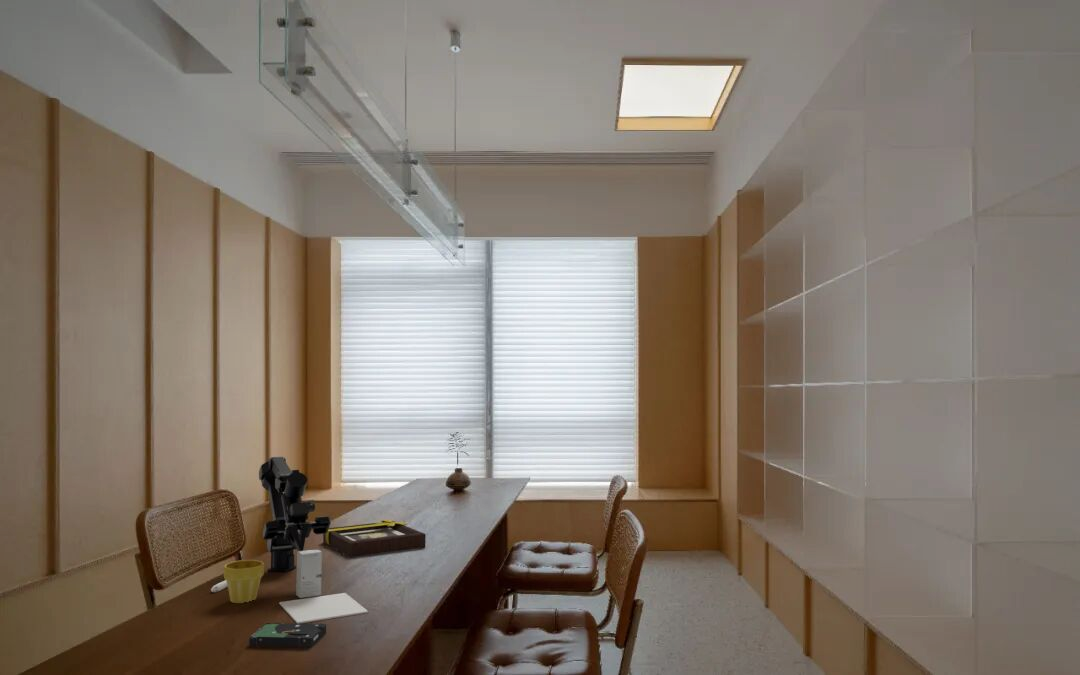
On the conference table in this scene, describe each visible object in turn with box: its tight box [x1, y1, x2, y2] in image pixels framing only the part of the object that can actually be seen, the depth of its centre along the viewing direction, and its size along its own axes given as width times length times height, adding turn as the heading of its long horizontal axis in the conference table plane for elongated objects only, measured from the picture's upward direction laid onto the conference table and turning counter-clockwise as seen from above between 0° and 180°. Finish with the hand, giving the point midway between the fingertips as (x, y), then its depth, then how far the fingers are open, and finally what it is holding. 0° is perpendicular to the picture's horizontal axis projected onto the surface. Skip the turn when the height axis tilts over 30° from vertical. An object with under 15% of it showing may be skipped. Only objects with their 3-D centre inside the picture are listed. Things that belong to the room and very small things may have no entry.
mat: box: [279, 592, 369, 624], centre depth 205 cm, size 20×18×1 cm
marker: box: [210, 579, 228, 593], centre depth 228 cm, size 18×2×2 cm, turn 172°
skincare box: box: [295, 549, 323, 599], centre depth 218 cm, size 6×4×12 cm
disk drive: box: [248, 622, 327, 648], centre depth 181 cm, size 10×3×15 cm
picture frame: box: [322, 519, 427, 558], centre depth 284 cm, size 28×7×30 cm
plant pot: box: [223, 559, 265, 604], centre depth 213 cm, size 10×10×10 cm
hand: (301, 551), depth 226 cm, fingers closed
